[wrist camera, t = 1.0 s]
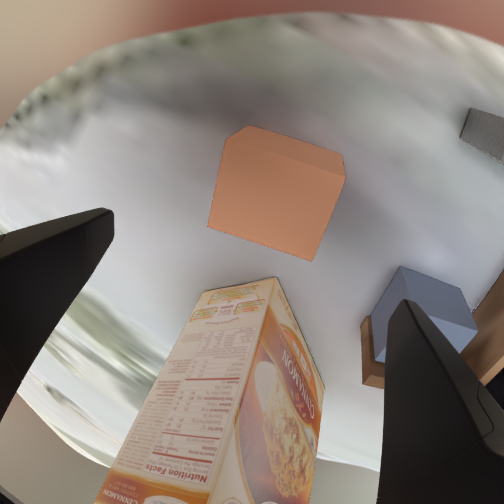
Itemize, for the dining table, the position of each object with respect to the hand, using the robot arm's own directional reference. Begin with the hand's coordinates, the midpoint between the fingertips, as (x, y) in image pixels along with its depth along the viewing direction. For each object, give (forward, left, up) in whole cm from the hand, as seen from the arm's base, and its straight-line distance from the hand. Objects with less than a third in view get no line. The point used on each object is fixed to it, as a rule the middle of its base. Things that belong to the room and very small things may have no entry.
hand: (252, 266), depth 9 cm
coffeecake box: (-17, -3, -13) cm, 21 cm away
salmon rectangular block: (-1, 0, -12) cm, 12 cm away
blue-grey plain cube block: (-7, -13, -12) cm, 19 cm away
